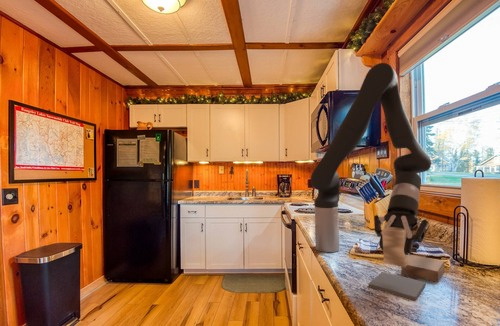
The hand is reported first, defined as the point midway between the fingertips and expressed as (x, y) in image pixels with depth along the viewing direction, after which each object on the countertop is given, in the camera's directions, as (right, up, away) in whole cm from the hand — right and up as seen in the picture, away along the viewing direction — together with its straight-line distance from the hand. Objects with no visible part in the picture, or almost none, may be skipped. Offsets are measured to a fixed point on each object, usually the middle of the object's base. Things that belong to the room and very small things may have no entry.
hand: (394, 250), depth 68 cm
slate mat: (+1, -10, +1) cm, 10 cm away
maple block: (+1, -4, +1) cm, 4 cm away
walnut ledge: (+15, -10, +10) cm, 20 cm away
